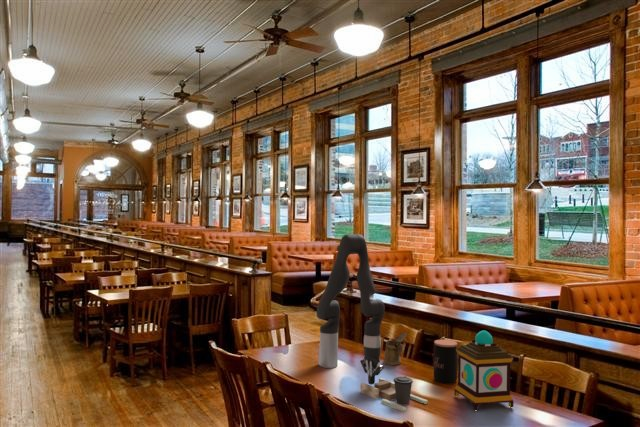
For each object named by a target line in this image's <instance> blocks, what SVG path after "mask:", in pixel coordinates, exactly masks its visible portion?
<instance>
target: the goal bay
mask: <svg viewBox="0 0 640 427" xmlns="http://www.w3.org/2000/svg"><path fill="white" fill-rule="evenodd" d="M410 400H413V401H416V402H419V403H421V404H423V403H424V404H423V405H427V403H429V401H428V399H425V398H423V397H420V396H417V395H414V394H412V393H411V394H410ZM381 403H382V404H384V405H386V406H389V407H391V408H392V409H393V408H394V409H396V410H399V411H401V412H402V413H403V412H407V407H406V406H403V405H402V404H398V403H397V402H396V403H395V402H393V401H392V400H390V401H389V400H387V399H384V398H382V399H381Z"/></svg>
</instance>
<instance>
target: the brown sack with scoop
mask: <svg viewBox="0 0 640 427" xmlns="http://www.w3.org/2000/svg"><path fill="white" fill-rule="evenodd" d="M406 338H407V332H405V331H403V332H402V333H400V334H399V335H398V336H397V337H396V339H395V340H393V339H392V340H391V339H390V340H387V341H386V343H385V351H384V357H383V364H384V365H388V366H399V365H401V364H402V359H401V354H402V351H403V345H402V342H403V341H404V340H405V339H406Z"/></svg>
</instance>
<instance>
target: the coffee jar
mask: <svg viewBox="0 0 640 427" xmlns="http://www.w3.org/2000/svg"><path fill="white" fill-rule="evenodd" d="M433 342H434V347H433V379H434V381H436V382H437V383H440V384H445V385H446V384H447V385H451V384H455V383H456V381H458V353H457V351H456V348H458V342H457V341H455V340H451V339H436V340H434V341H433Z"/></svg>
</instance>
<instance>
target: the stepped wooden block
mask: <svg viewBox="0 0 640 427" xmlns="http://www.w3.org/2000/svg"><path fill="white" fill-rule="evenodd" d="M382 381H389V382H391V388H394V389H395V382H394V381H391V380H388V379H386V378H383V377H378V382H382ZM359 386H360V389H359V390H360V393H362V394H364V395H366V396H368V397H371V398H373V399H375V400H378V399H380V396H379V389H378V388H375V387H374V385H373V386H372V385H371V384H369V383H368V384H367V383H365V382H360V385H359Z"/></svg>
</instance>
